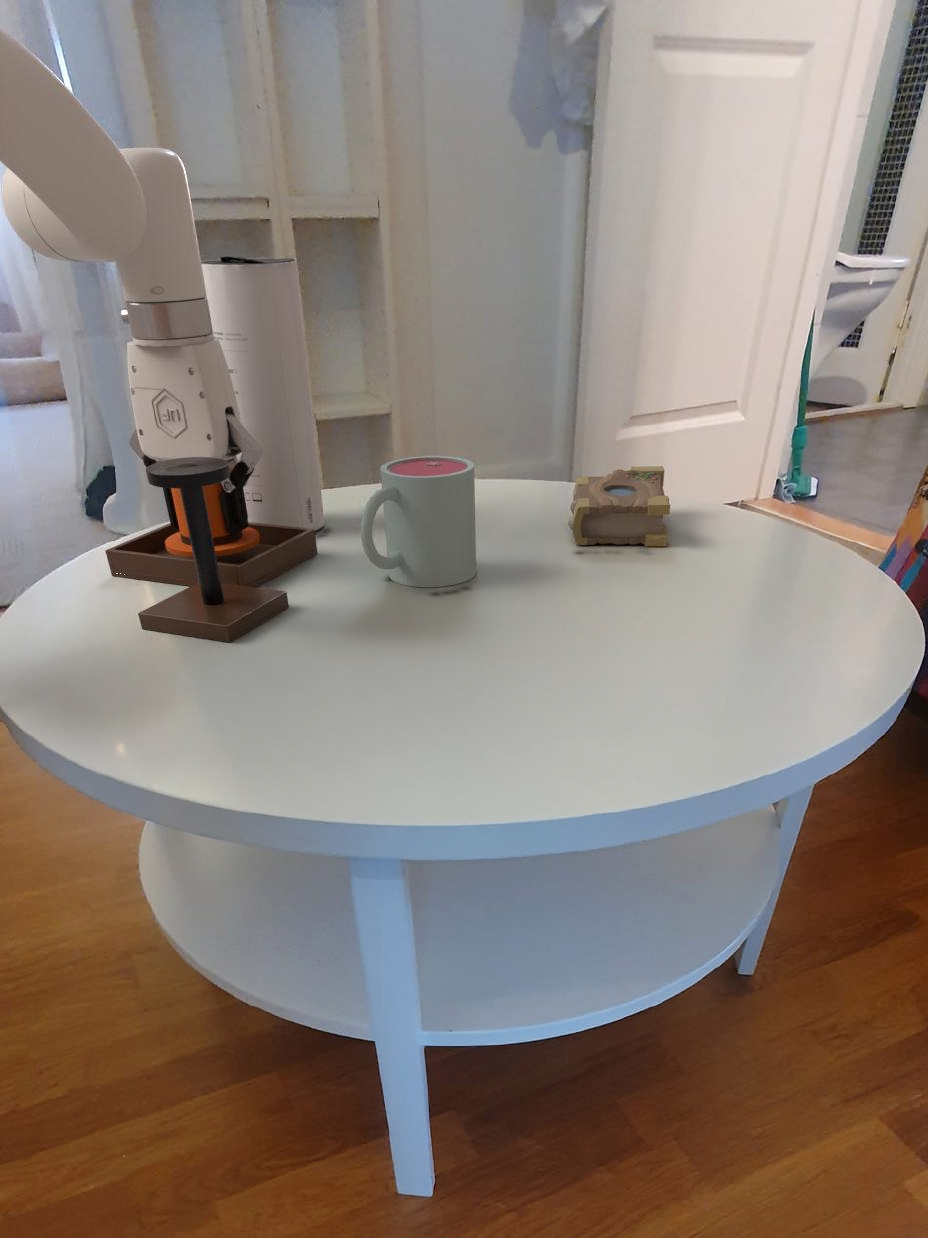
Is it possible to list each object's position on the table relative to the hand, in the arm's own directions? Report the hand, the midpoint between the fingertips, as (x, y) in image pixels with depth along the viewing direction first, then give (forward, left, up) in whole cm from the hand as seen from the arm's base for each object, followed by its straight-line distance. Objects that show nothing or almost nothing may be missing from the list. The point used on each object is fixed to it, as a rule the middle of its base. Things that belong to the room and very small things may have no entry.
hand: (209, 526), depth 100 cm
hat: (0, 0, -2) cm, 2 cm away
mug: (+23, +3, -4) cm, 24 cm away
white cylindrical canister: (-1, +15, -4) cm, 16 cm away
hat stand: (+10, -14, -4) cm, 18 cm away
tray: (0, 0, -4) cm, 4 cm away
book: (+37, +27, -4) cm, 46 cm away
